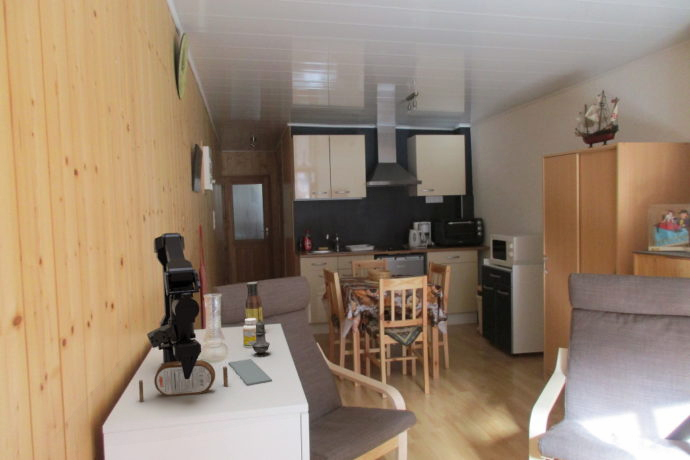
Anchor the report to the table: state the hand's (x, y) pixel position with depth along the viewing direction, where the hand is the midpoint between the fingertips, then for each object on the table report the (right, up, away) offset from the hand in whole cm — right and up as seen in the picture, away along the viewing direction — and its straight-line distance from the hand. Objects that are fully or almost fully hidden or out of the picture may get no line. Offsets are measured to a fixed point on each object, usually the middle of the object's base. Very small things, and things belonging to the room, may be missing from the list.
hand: (184, 373), depth 127 cm
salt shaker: (+14, -4, +33) cm, 36 cm away
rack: (0, -5, 0) cm, 5 cm away
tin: (0, -5, 0) cm, 5 cm away
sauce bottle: (+7, -3, +61) cm, 62 cm away
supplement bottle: (+9, -3, +43) cm, 44 cm away
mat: (+14, -4, +16) cm, 21 cm away
